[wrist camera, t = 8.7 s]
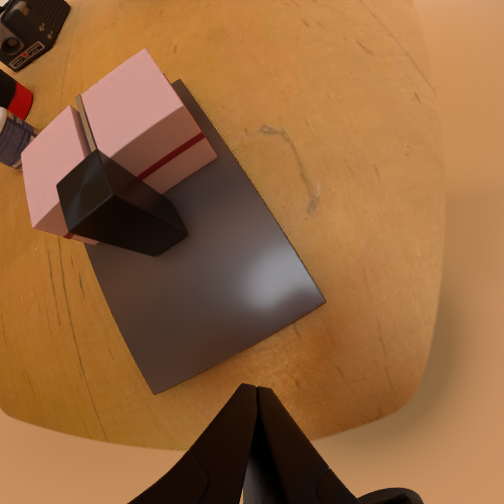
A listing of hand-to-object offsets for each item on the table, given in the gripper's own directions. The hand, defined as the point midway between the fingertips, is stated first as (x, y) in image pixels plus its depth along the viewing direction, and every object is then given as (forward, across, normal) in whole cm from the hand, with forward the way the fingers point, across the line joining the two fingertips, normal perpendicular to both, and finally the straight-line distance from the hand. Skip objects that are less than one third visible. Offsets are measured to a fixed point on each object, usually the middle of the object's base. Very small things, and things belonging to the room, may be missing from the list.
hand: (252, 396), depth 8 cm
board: (+16, +7, -1) cm, 17 cm away
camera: (+33, +44, -24) cm, 60 cm away
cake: (+17, +11, -4) cm, 21 cm away
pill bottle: (+22, +29, -4) cm, 36 cm away
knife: (+16, +10, -4) cm, 19 cm away
